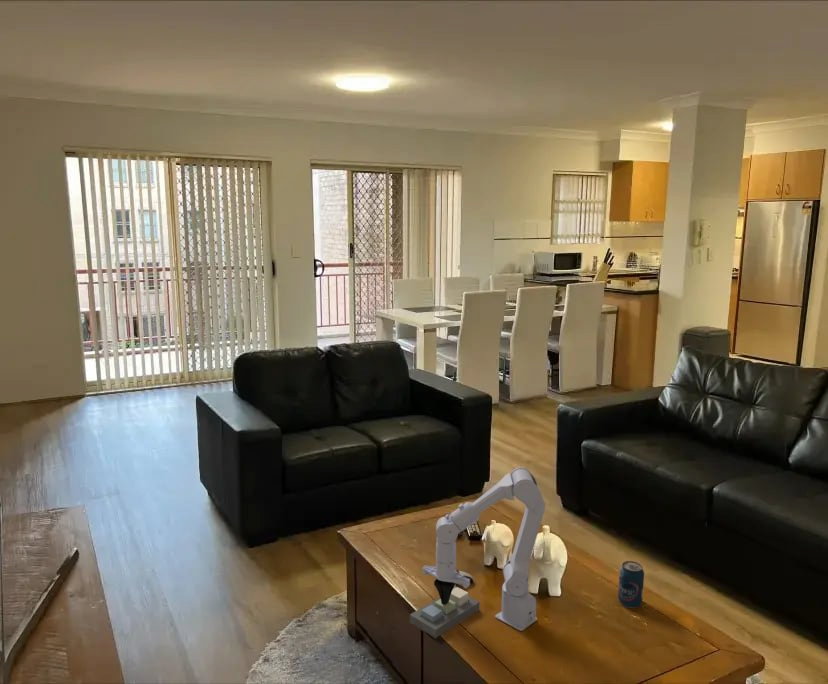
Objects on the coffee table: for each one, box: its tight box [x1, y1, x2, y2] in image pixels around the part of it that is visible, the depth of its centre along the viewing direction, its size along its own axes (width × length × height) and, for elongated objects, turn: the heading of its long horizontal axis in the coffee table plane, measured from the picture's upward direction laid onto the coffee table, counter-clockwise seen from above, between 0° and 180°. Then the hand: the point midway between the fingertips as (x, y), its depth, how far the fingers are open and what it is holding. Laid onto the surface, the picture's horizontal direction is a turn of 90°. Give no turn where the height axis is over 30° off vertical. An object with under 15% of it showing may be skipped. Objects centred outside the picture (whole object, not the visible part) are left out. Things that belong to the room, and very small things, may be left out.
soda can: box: [617, 560, 645, 609], centre depth 201 cm, size 7×7×12 cm
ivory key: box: [449, 586, 469, 607], centre depth 198 cm, size 4×4×4 cm
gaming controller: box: [453, 569, 475, 589], centre depth 211 cm, size 11×6×7 cm
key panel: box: [409, 595, 481, 639], centre depth 194 cm, size 10×19×3 cm, turn 135°
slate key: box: [421, 605, 443, 623], centre depth 190 cm, size 4×4×4 cm
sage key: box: [435, 599, 456, 615], centre depth 194 cm, size 4×4×4 cm
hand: (445, 602), depth 194 cm, fingers closed, pressing on sage key
